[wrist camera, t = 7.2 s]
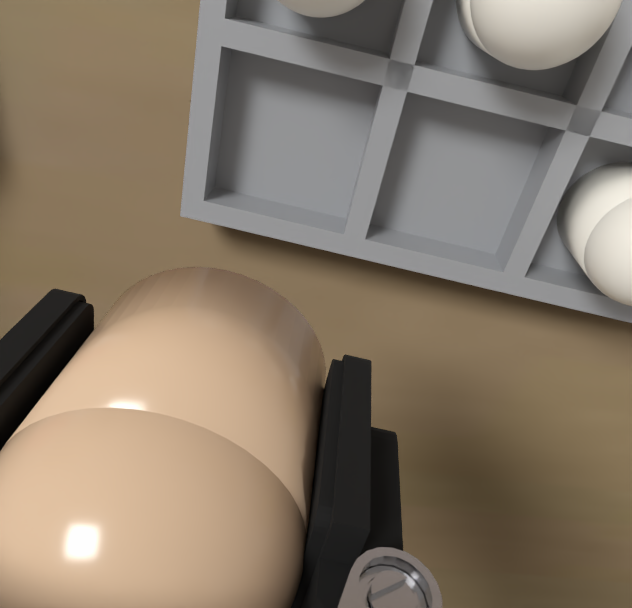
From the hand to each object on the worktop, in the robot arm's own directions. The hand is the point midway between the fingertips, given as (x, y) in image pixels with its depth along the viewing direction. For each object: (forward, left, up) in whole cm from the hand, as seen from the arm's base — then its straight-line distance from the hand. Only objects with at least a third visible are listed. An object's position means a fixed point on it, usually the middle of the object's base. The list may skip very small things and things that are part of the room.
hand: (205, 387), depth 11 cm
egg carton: (-7, -5, -18) cm, 20 cm away
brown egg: (0, 0, -1) cm, 1 cm away
